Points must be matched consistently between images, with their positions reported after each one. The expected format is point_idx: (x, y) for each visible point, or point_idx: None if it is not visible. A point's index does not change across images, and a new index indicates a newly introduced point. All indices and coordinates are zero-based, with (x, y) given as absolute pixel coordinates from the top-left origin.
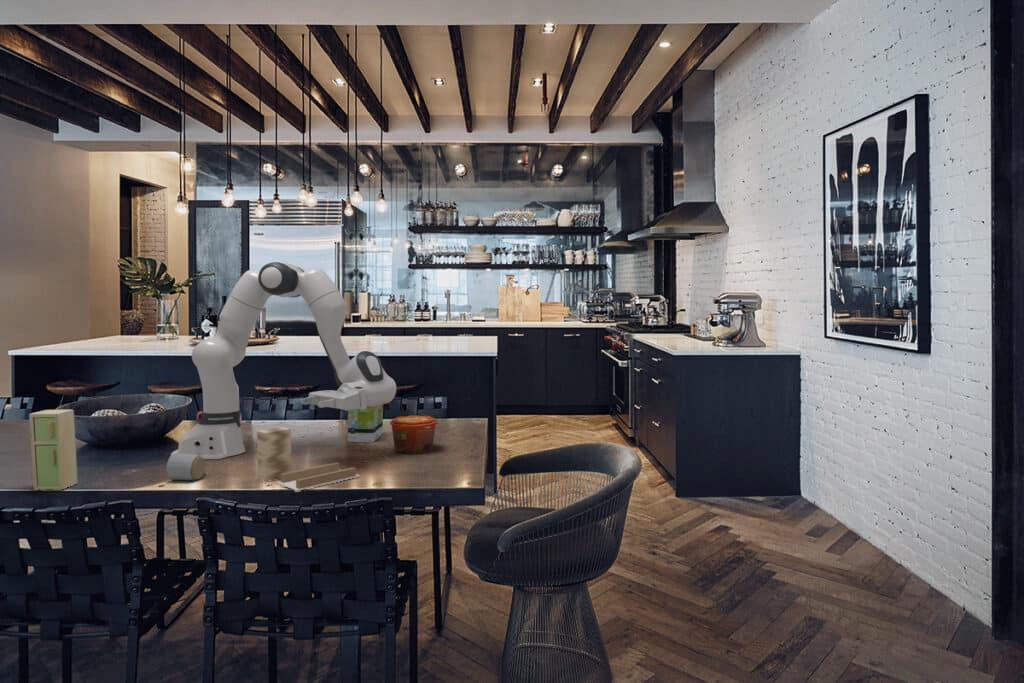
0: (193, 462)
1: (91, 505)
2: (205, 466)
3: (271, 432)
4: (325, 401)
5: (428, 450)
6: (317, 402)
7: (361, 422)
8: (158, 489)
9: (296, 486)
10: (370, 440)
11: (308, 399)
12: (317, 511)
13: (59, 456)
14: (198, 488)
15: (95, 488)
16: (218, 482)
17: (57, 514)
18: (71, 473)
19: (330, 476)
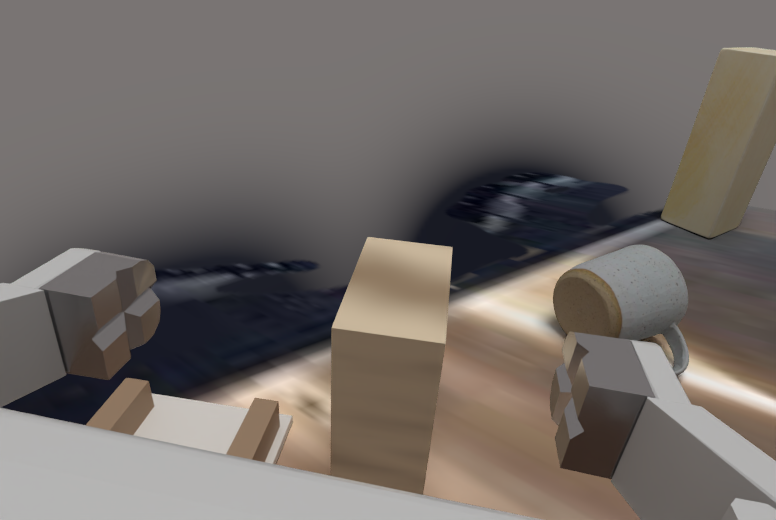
0: (567, 272)
1: (504, 206)
2: (604, 332)
3: (360, 257)
4: (4, 291)
5: None
6: (151, 265)
7: None
8: (539, 273)
9: (150, 401)
10: None
11: (583, 395)
12: None
13: (685, 149)
14: (471, 306)
15: (642, 239)
16: (496, 353)
17: (488, 184)
18: (700, 205)
19: None
